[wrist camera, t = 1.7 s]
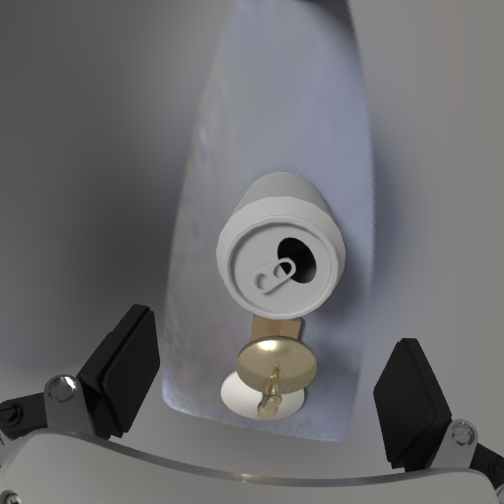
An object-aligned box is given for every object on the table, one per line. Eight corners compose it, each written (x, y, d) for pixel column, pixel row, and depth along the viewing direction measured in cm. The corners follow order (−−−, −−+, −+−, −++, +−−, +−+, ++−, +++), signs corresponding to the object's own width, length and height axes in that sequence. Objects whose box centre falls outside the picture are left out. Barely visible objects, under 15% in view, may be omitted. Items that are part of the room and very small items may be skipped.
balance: (254, 268, 29) (230, 370, 16) (315, 275, 28) (329, 381, 16) (243, 364, 34) (224, 459, 22) (291, 370, 34) (288, 467, 21)
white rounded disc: (223, 358, 34) (221, 365, 33) (312, 369, 33) (312, 376, 32) (221, 407, 39) (220, 413, 37) (295, 417, 38) (295, 423, 37)
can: (337, 228, 26) (370, 299, 15) (266, 262, 28) (253, 347, 17) (300, 154, 24) (313, 176, 13) (226, 195, 26) (182, 246, 15)
